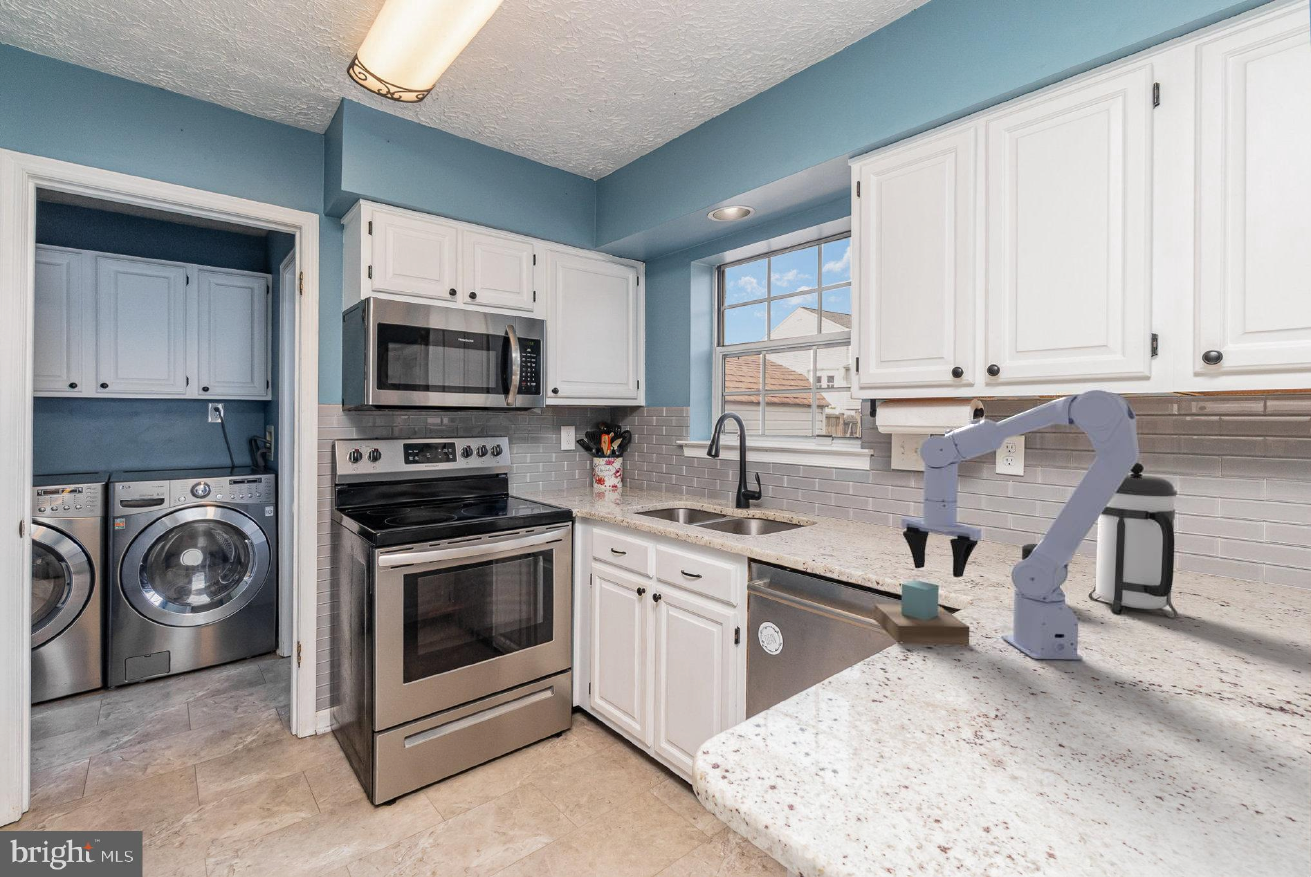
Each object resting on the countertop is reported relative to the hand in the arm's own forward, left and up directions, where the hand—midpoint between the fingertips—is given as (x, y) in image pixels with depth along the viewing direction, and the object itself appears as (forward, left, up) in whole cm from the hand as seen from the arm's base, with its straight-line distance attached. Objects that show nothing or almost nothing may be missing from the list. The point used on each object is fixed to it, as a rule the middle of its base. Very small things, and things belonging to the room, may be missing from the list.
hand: (938, 571), depth 113 cm
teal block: (-4, +5, -7) cm, 10 cm away
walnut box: (-5, +5, -10) cm, 12 cm away
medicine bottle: (+14, -28, -10) cm, 33 cm away
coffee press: (+9, -45, -10) cm, 47 cm away
